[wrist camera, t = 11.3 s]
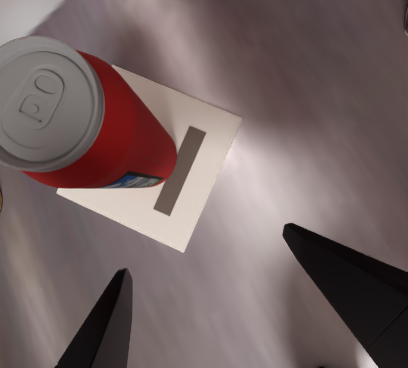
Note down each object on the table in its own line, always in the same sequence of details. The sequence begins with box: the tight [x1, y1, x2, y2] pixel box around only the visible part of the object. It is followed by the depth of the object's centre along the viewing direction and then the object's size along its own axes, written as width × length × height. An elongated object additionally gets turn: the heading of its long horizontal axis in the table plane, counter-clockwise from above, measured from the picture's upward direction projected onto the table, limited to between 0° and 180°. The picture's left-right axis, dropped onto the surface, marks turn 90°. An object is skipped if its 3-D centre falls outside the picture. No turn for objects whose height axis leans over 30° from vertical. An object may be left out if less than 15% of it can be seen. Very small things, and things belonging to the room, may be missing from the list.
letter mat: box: [57, 65, 243, 253], centre depth 19 cm, size 16×16×1 cm
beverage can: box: [0, 36, 177, 189], centre depth 12 cm, size 7×7×12 cm
